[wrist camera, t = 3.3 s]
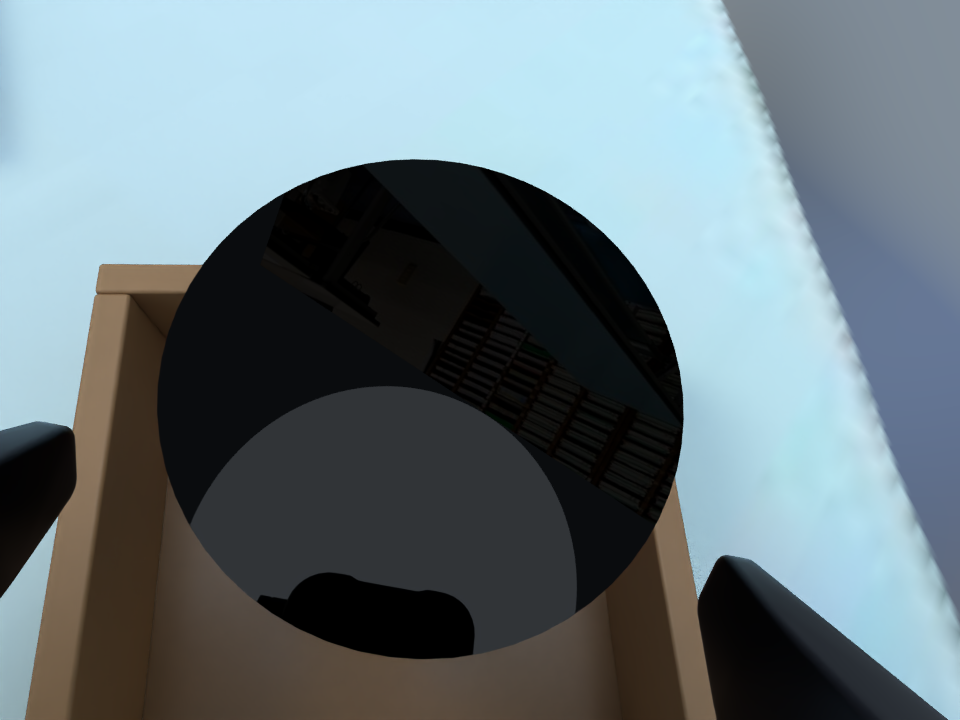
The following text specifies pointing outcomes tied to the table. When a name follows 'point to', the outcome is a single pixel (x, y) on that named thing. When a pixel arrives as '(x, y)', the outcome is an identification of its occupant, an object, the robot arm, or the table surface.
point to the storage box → (267, 638)
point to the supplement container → (420, 409)
